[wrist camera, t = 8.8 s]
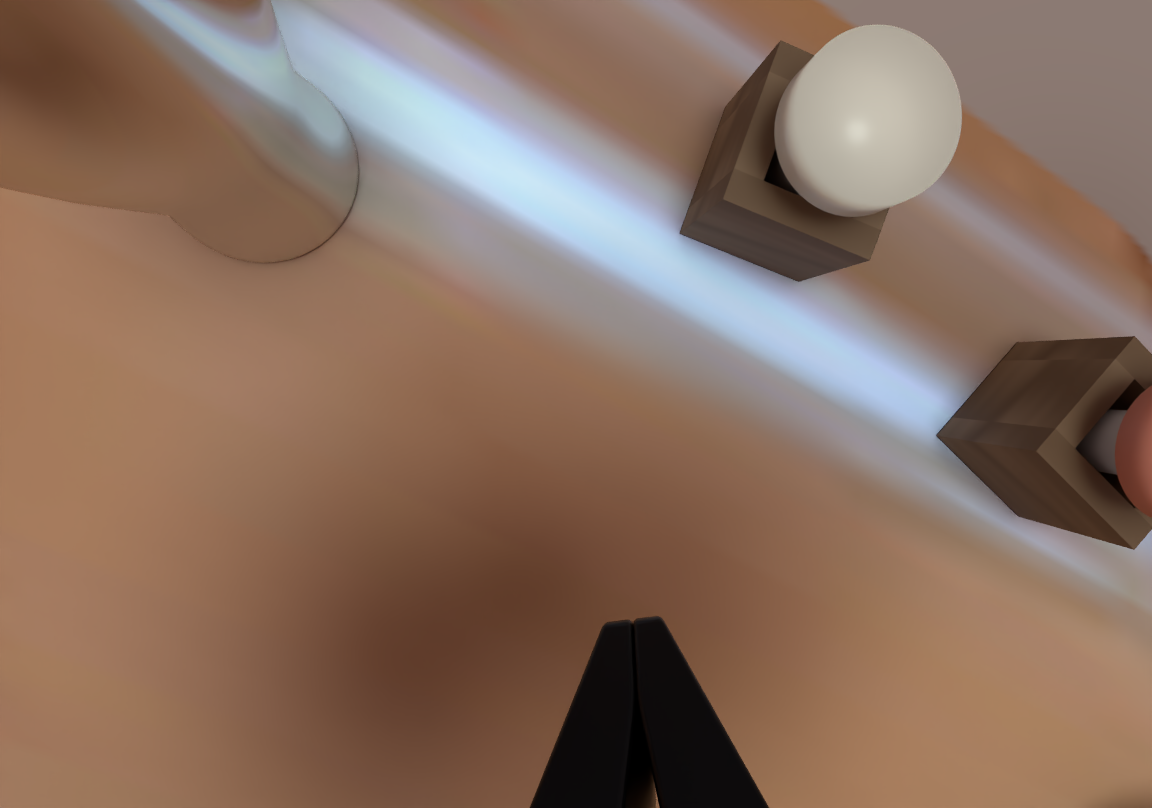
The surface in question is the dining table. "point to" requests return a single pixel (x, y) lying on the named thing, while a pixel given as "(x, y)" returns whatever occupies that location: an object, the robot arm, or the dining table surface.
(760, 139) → the ivory key housing
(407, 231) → the dining table surface
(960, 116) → the ivory key
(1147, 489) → the red rounded knob
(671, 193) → the dining table surface
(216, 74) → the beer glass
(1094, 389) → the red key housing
